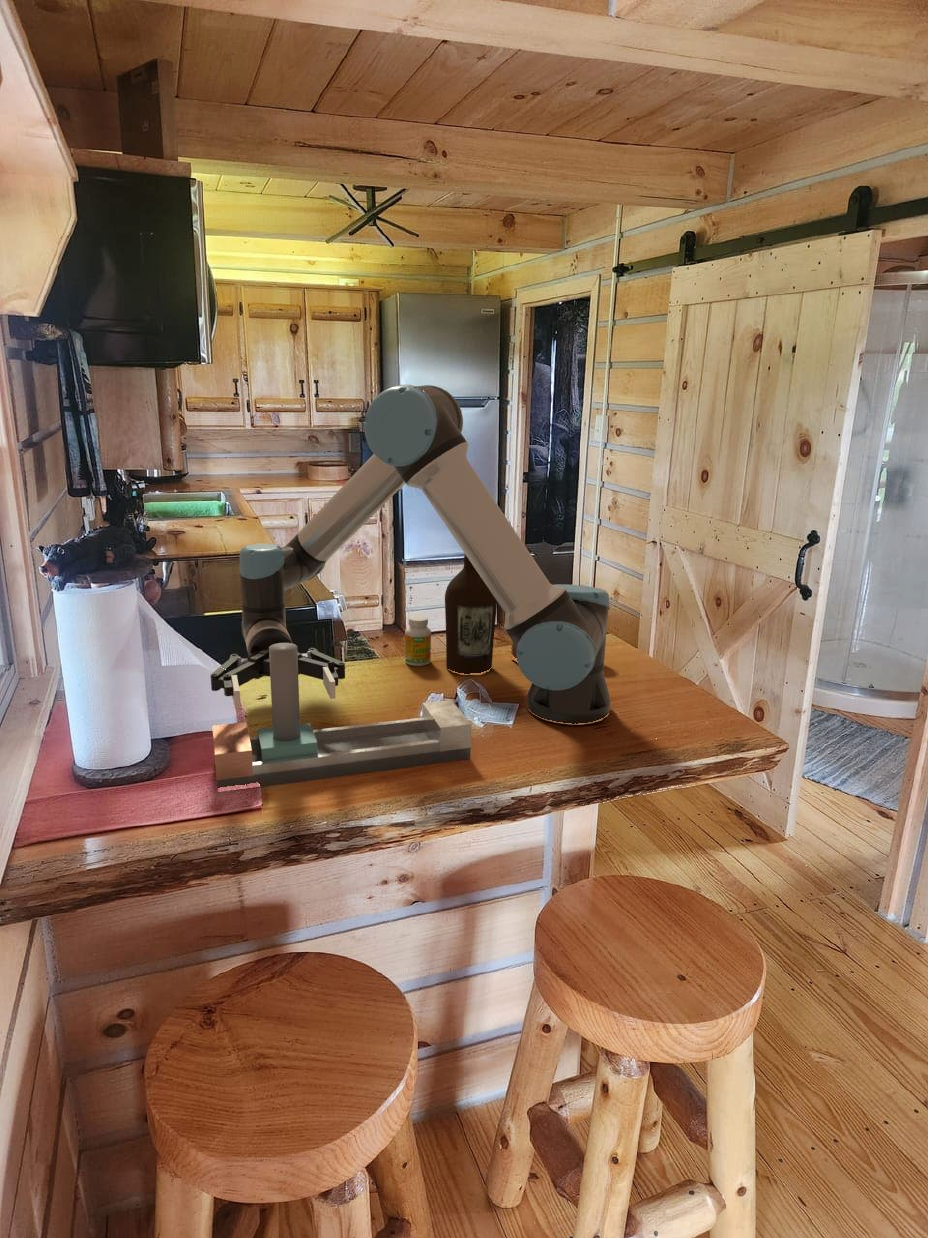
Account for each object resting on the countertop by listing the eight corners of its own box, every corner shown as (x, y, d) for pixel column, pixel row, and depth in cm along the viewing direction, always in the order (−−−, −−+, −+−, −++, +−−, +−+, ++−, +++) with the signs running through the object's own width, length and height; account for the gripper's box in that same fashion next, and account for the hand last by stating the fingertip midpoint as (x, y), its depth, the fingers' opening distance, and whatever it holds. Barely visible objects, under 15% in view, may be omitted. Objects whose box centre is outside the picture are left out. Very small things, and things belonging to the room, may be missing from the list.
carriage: (310, 740, 123) (307, 637, 119) (317, 760, 117) (314, 652, 112) (258, 747, 121) (252, 641, 116) (262, 767, 115) (256, 657, 110)
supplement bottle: (411, 668, 162) (411, 623, 160) (400, 659, 167) (401, 615, 164) (434, 664, 165) (435, 620, 162) (424, 656, 169) (424, 613, 167)
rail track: (450, 732, 133) (451, 699, 131) (470, 759, 124) (471, 724, 122) (215, 761, 121) (212, 725, 119) (217, 793, 112) (214, 754, 110)
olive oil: (438, 661, 167) (440, 544, 159) (487, 658, 169) (491, 543, 162) (449, 679, 157) (452, 556, 150) (500, 676, 159) (505, 554, 152)
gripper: (344, 663, 139) (370, 709, 120) (194, 676, 131) (197, 728, 112) (343, 622, 136) (370, 663, 117) (191, 633, 128) (193, 679, 109)
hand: (286, 695), depth 114 cm, fingers open, 13 cm apart
